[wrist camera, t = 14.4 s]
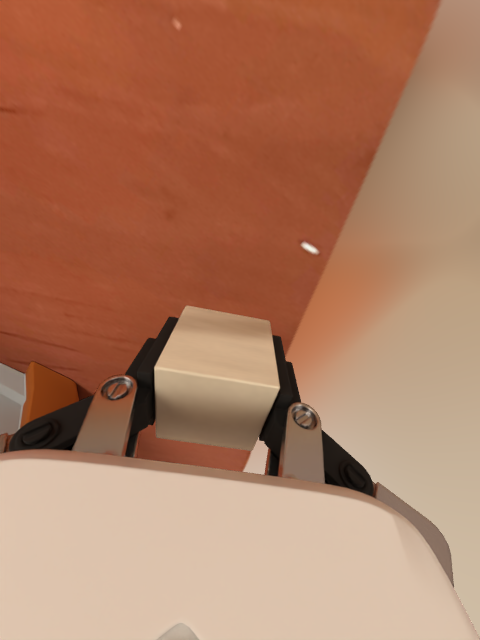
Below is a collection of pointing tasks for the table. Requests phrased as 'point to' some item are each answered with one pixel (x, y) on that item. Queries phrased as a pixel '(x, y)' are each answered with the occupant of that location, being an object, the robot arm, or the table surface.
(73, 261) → the table surface
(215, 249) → the table surface
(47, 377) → the alarm clock
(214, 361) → the block
